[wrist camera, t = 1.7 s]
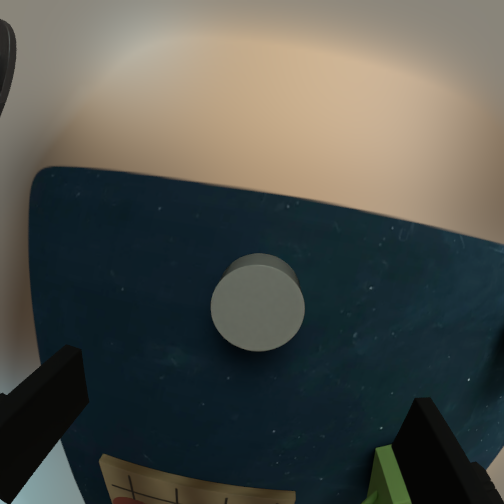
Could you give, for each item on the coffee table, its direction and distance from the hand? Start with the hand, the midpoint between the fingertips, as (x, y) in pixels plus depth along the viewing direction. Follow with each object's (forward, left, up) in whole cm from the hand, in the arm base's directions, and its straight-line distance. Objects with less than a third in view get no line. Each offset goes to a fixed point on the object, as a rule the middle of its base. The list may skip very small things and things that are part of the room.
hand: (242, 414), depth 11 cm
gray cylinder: (0, 0, -15) cm, 15 cm away
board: (-4, -36, -15) cm, 39 cm away
